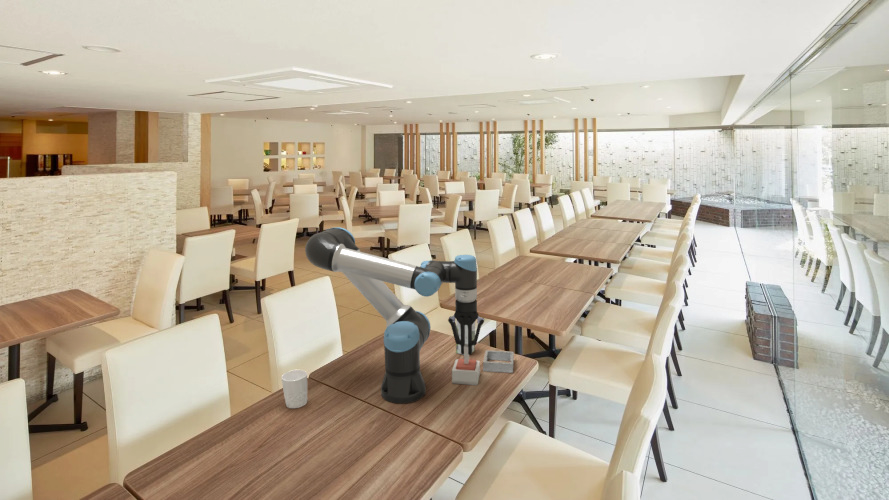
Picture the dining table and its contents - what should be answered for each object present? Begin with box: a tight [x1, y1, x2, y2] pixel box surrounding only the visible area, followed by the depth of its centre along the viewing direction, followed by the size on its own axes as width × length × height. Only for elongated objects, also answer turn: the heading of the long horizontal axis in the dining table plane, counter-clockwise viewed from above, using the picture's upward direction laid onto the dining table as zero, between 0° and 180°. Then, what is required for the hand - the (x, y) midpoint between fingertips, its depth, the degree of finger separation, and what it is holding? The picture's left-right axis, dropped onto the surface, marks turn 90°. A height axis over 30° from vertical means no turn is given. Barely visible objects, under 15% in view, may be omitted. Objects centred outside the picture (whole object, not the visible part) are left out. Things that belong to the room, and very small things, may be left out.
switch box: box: [451, 358, 481, 386], centre depth 165 cm, size 9×9×5 cm
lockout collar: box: [482, 349, 515, 374], centre depth 174 cm, size 11×11×4 cm
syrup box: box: [455, 320, 476, 356], centre depth 185 cm, size 6×6×14 cm
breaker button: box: [456, 358, 477, 371], centre depth 164 cm, size 6×6×5 cm
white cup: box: [280, 369, 308, 409], centre depth 149 cm, size 8×8×10 cm
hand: (466, 362), depth 164 cm, fingers closed
